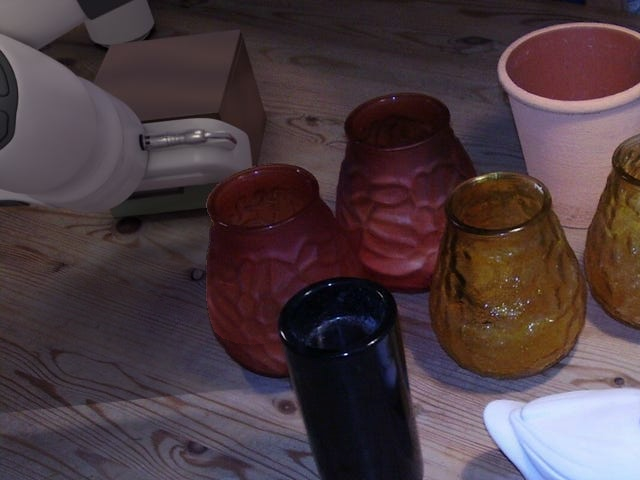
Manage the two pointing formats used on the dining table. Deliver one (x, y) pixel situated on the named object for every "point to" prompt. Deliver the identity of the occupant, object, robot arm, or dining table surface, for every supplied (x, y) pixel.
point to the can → (122, 24)
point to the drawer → (164, 200)
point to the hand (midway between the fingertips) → (151, 180)
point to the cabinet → (187, 82)
